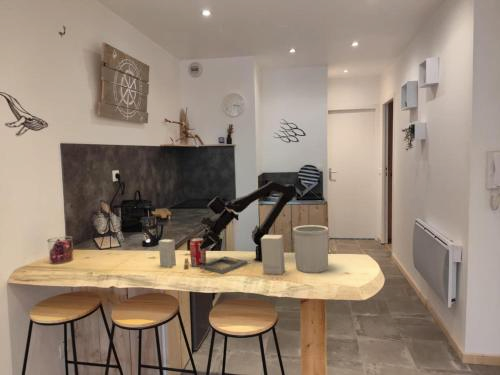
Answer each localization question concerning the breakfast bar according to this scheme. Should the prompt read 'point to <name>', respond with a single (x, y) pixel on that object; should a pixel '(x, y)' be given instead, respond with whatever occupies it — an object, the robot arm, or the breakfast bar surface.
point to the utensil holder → (311, 248)
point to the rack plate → (234, 262)
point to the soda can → (197, 252)
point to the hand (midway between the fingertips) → (200, 246)
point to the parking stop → (186, 263)
